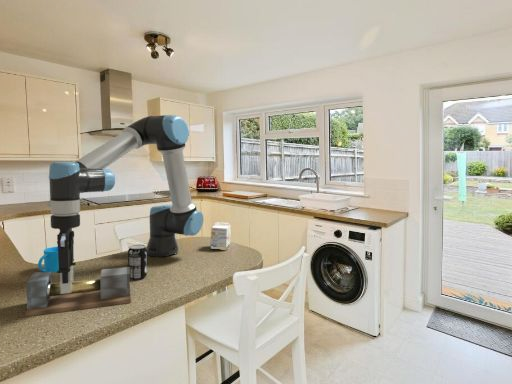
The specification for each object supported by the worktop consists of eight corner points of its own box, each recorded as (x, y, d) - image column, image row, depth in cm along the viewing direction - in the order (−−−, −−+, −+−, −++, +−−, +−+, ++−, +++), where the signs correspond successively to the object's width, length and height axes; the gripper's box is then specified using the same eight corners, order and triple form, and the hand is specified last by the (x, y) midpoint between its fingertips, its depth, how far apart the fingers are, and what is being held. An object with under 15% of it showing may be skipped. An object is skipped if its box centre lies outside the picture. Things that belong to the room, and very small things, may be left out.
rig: (129, 288, 108) (129, 262, 108) (130, 302, 97) (130, 274, 97) (36, 299, 98) (35, 270, 97) (25, 316, 87) (24, 285, 86)
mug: (56, 265, 130) (56, 245, 129) (73, 267, 128) (73, 247, 127) (29, 274, 118) (29, 253, 117) (47, 277, 116) (47, 255, 116)
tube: (105, 287, 102) (105, 276, 101) (105, 291, 98) (105, 280, 98) (47, 294, 95) (47, 282, 95) (44, 299, 92) (44, 286, 92)
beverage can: (142, 273, 123) (142, 243, 122) (149, 277, 119) (149, 246, 118) (125, 277, 119) (125, 245, 118) (132, 282, 114) (132, 249, 113)
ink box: (210, 249, 160) (210, 223, 159) (214, 245, 168) (215, 220, 167) (226, 251, 159) (227, 224, 157) (230, 246, 167) (231, 221, 166)
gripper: (56, 210, 100) (57, 281, 102) (44, 219, 84) (46, 303, 87) (82, 209, 103) (84, 279, 105) (76, 218, 87) (77, 299, 89)
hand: (67, 289), depth 96 cm, fingers closed on tube, 4 cm apart
